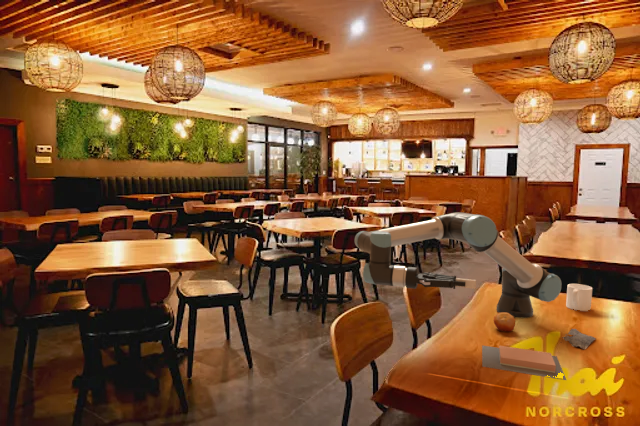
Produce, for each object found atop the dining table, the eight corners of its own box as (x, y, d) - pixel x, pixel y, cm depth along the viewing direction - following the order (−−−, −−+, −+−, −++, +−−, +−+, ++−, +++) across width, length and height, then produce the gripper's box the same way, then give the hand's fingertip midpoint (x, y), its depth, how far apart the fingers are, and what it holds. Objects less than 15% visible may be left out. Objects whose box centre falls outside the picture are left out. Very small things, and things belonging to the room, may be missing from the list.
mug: (569, 303, 208) (570, 282, 207) (593, 308, 201) (594, 286, 200) (561, 308, 199) (563, 287, 198) (586, 314, 192) (587, 291, 191)
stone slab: (570, 327, 172) (599, 333, 165) (570, 332, 172) (599, 338, 165) (555, 341, 160) (586, 347, 152) (555, 345, 160) (586, 352, 153)
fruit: (513, 323, 175) (515, 309, 171) (514, 338, 169) (516, 325, 165) (492, 320, 178) (493, 307, 173) (492, 335, 172) (494, 322, 167)
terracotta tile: (500, 357, 139) (555, 365, 134) (499, 345, 149) (550, 353, 143) (500, 364, 140) (555, 372, 134) (499, 352, 149) (550, 359, 143)
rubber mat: (482, 367, 138) (482, 366, 138) (482, 346, 155) (482, 345, 155) (566, 381, 130) (566, 380, 129) (556, 357, 146) (556, 356, 146)
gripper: (408, 282, 160) (475, 290, 152) (402, 292, 147) (475, 300, 139) (409, 263, 159) (476, 269, 151) (403, 270, 147) (476, 278, 139)
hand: (475, 284), depth 145 cm, fingers closed
